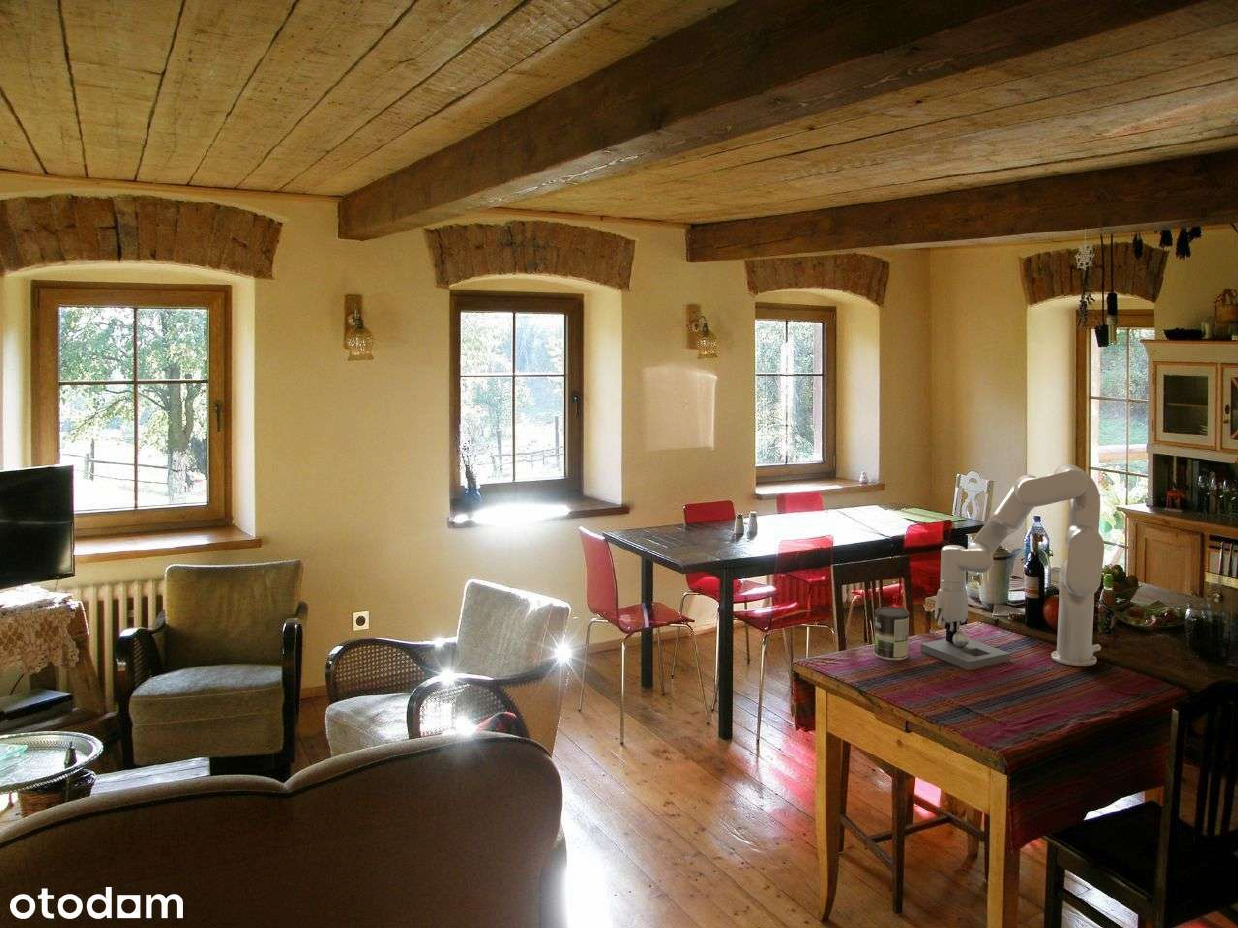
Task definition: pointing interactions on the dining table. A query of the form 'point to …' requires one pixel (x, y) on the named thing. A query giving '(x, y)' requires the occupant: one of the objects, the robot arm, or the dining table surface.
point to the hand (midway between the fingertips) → (951, 641)
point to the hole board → (966, 653)
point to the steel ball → (961, 639)
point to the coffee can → (891, 633)
